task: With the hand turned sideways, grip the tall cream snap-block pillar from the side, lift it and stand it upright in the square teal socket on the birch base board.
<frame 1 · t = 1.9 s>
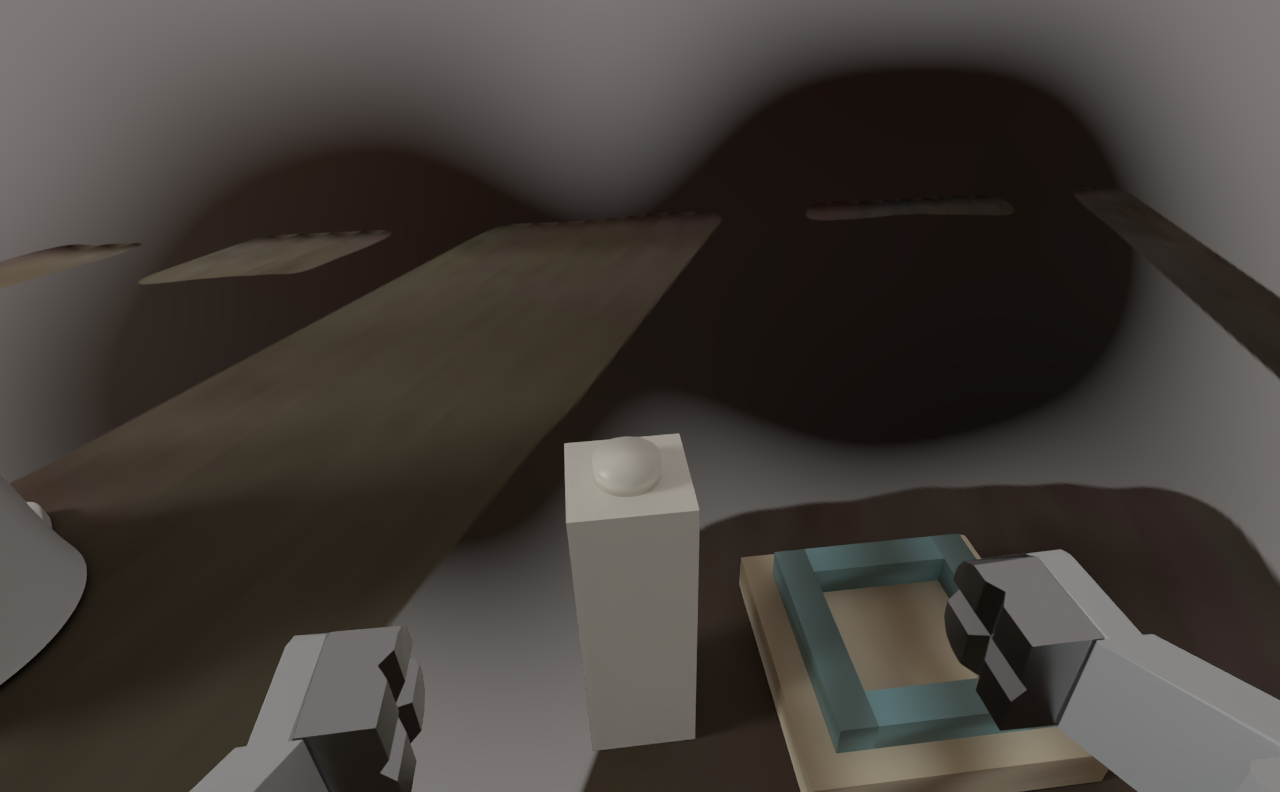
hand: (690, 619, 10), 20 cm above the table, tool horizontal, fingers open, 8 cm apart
cream pillar: (638, 698, 32), on the table
birch base board: (894, 669, 33), on the table
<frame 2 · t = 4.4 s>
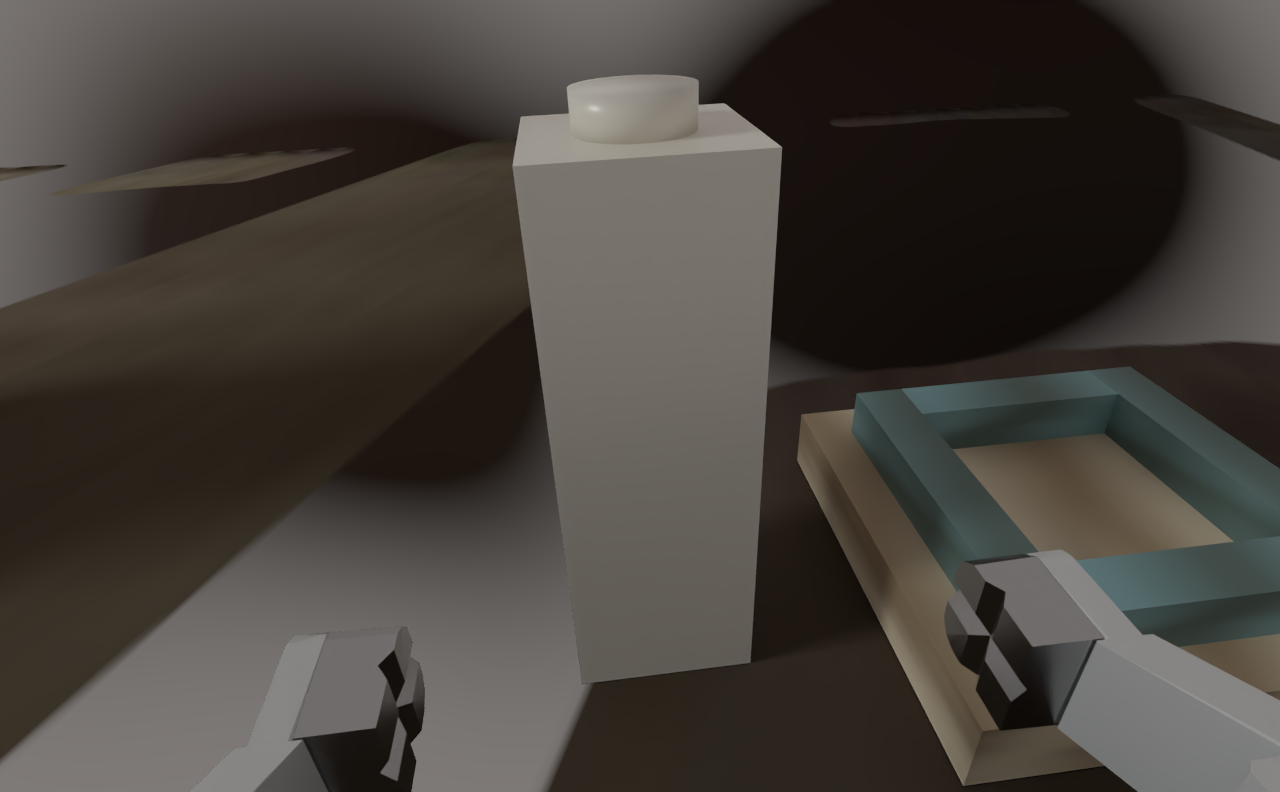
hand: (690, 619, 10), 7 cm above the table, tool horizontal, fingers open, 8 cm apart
cream pillar: (655, 607, 20), on the table
birch base board: (1054, 559, 21), on the table
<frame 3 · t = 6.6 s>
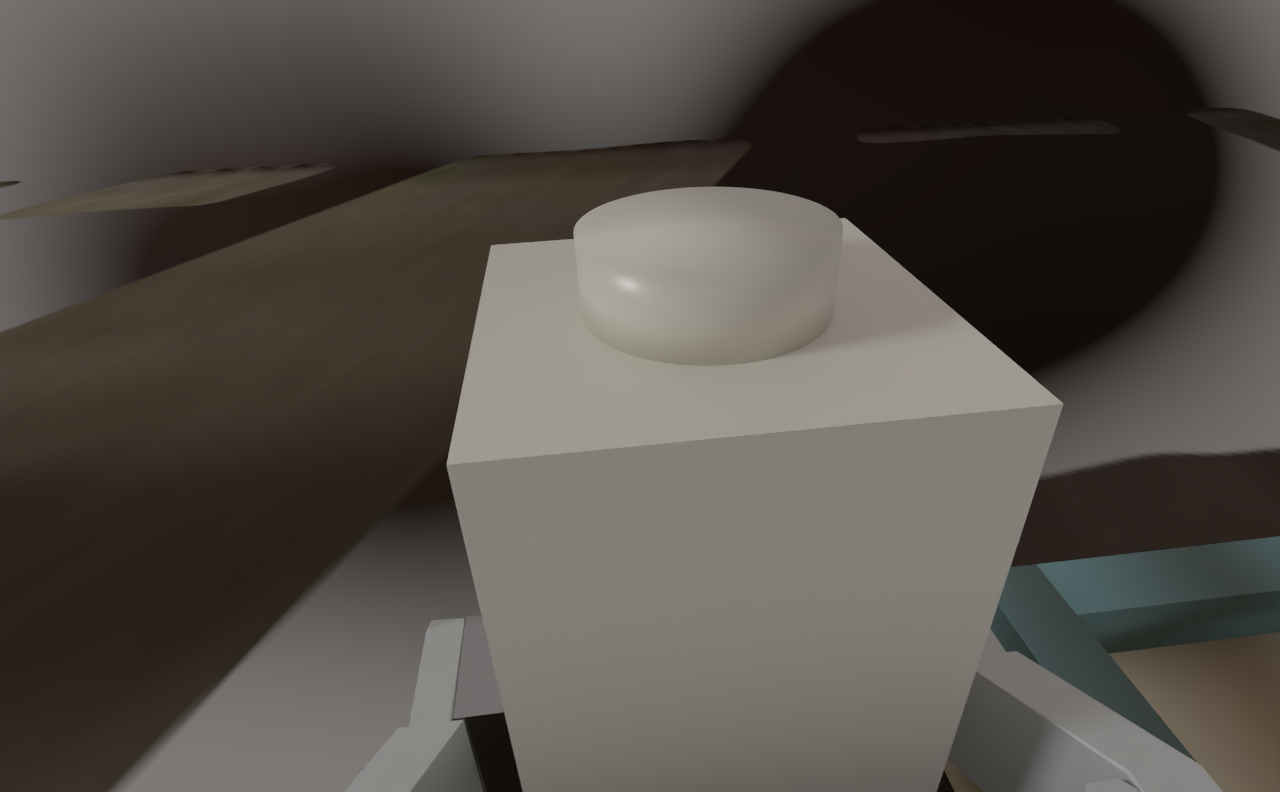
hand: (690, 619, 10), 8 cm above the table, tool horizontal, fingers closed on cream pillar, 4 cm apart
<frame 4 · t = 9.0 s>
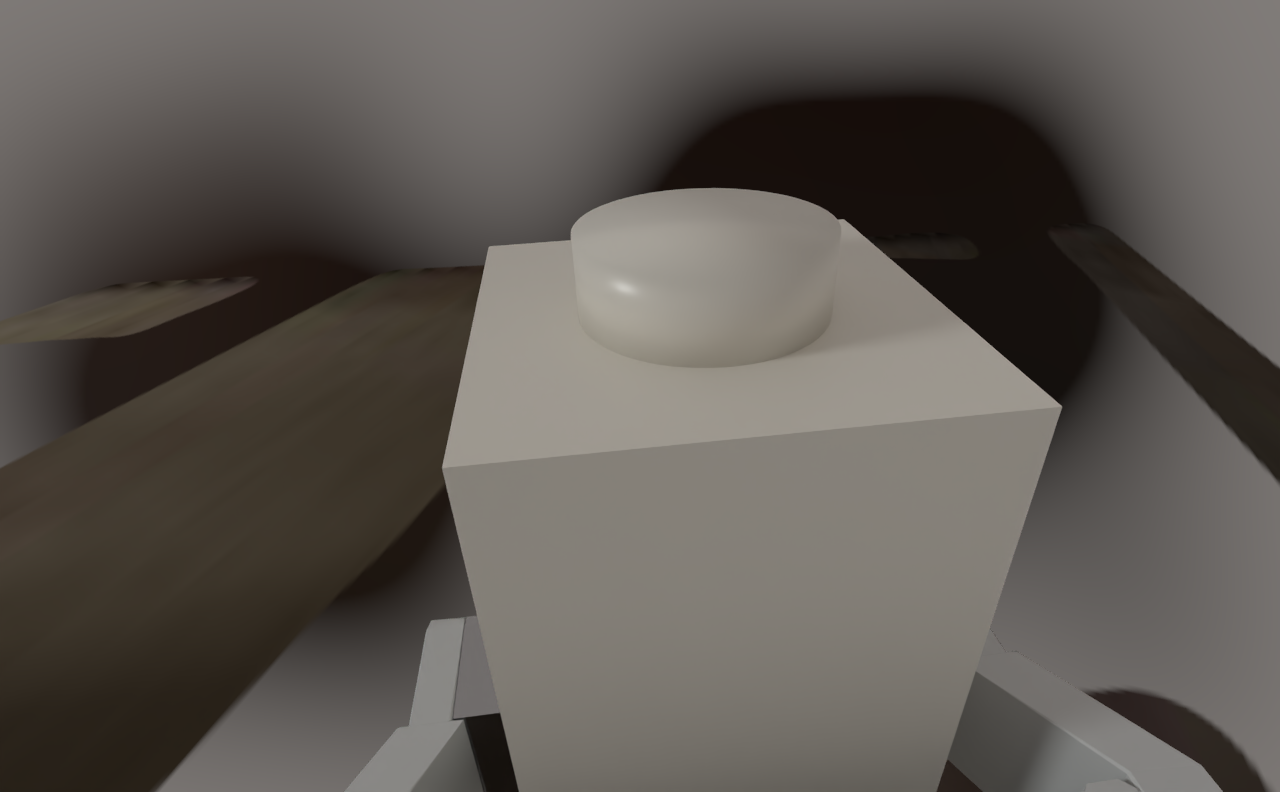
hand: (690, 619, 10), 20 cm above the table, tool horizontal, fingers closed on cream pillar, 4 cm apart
when the fingers open (10 cm above the table, at t = 11.7 s): cream pillar stays where it is, resting on birch base board.
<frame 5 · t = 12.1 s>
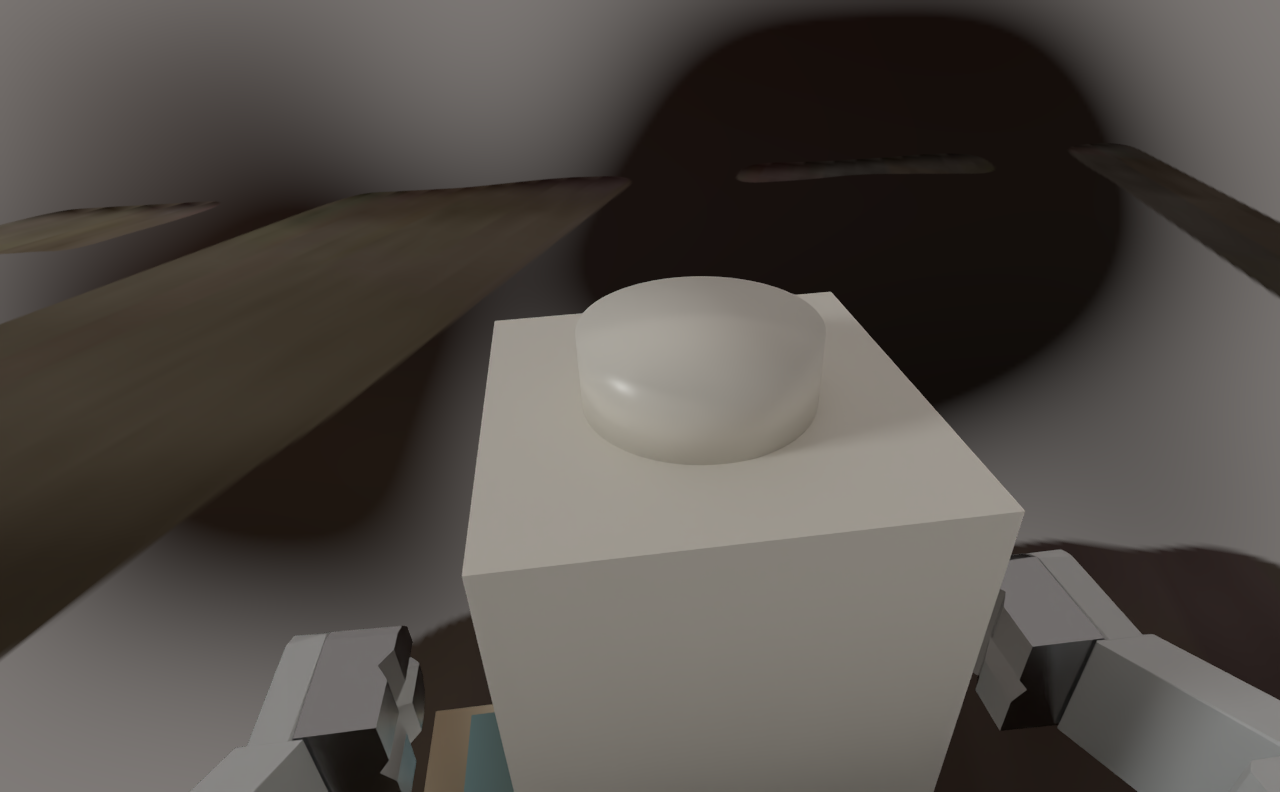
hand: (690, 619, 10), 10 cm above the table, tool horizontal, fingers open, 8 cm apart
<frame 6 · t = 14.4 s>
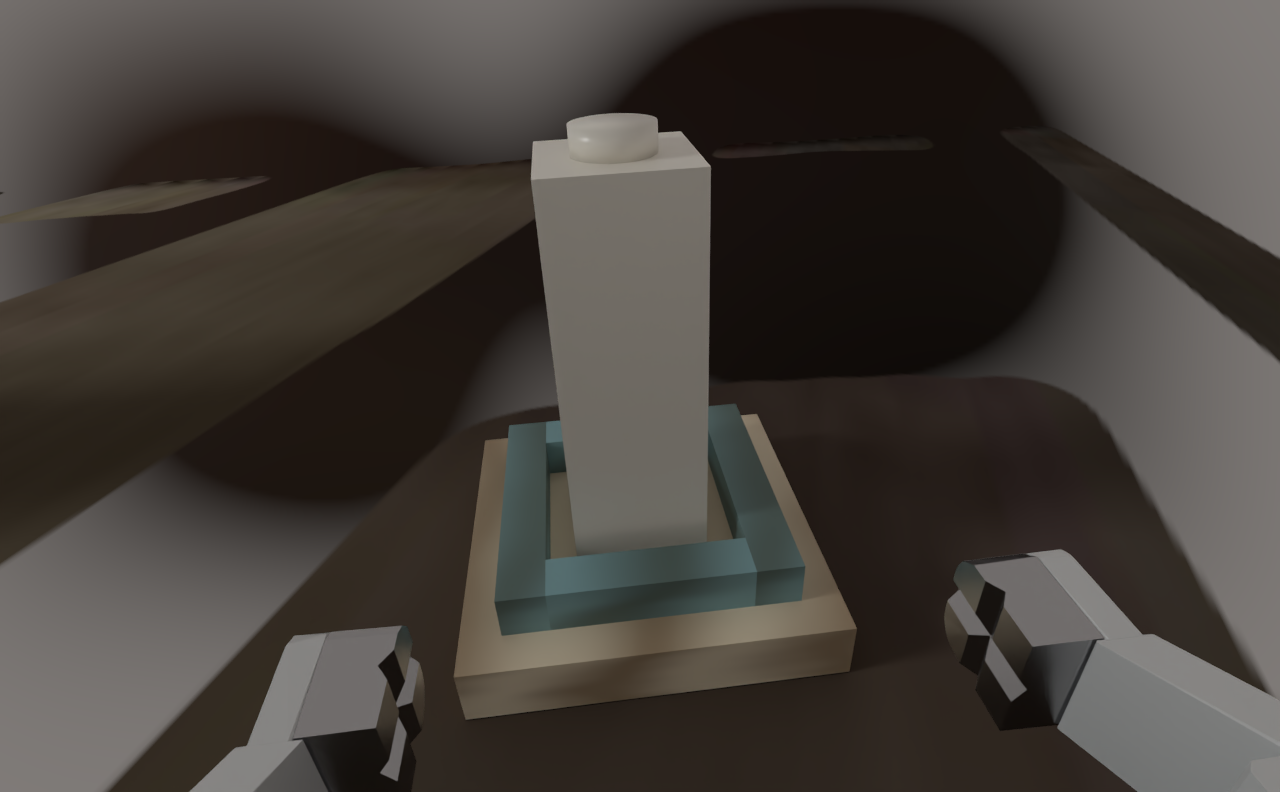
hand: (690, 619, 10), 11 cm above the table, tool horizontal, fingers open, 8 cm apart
cream pillar: (635, 518, 26), point 2 cm above the table, touching birch base board
birch base board: (639, 557, 27), on the table
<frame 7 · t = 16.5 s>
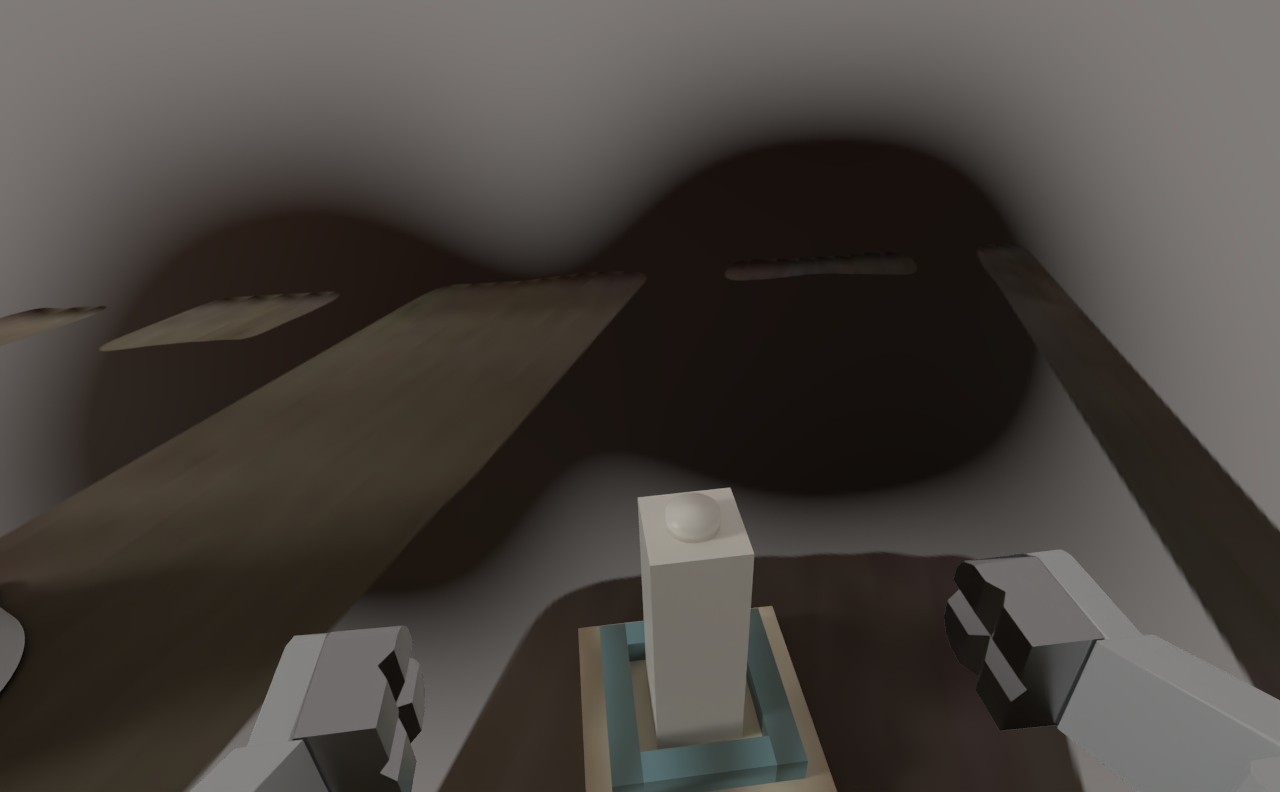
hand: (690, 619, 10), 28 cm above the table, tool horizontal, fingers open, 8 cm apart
cream pillar: (692, 705, 38), point 2 cm above the table, touching birch base board
birch base board: (693, 726, 39), on the table
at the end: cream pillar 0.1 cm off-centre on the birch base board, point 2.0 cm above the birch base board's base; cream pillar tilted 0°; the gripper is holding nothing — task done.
